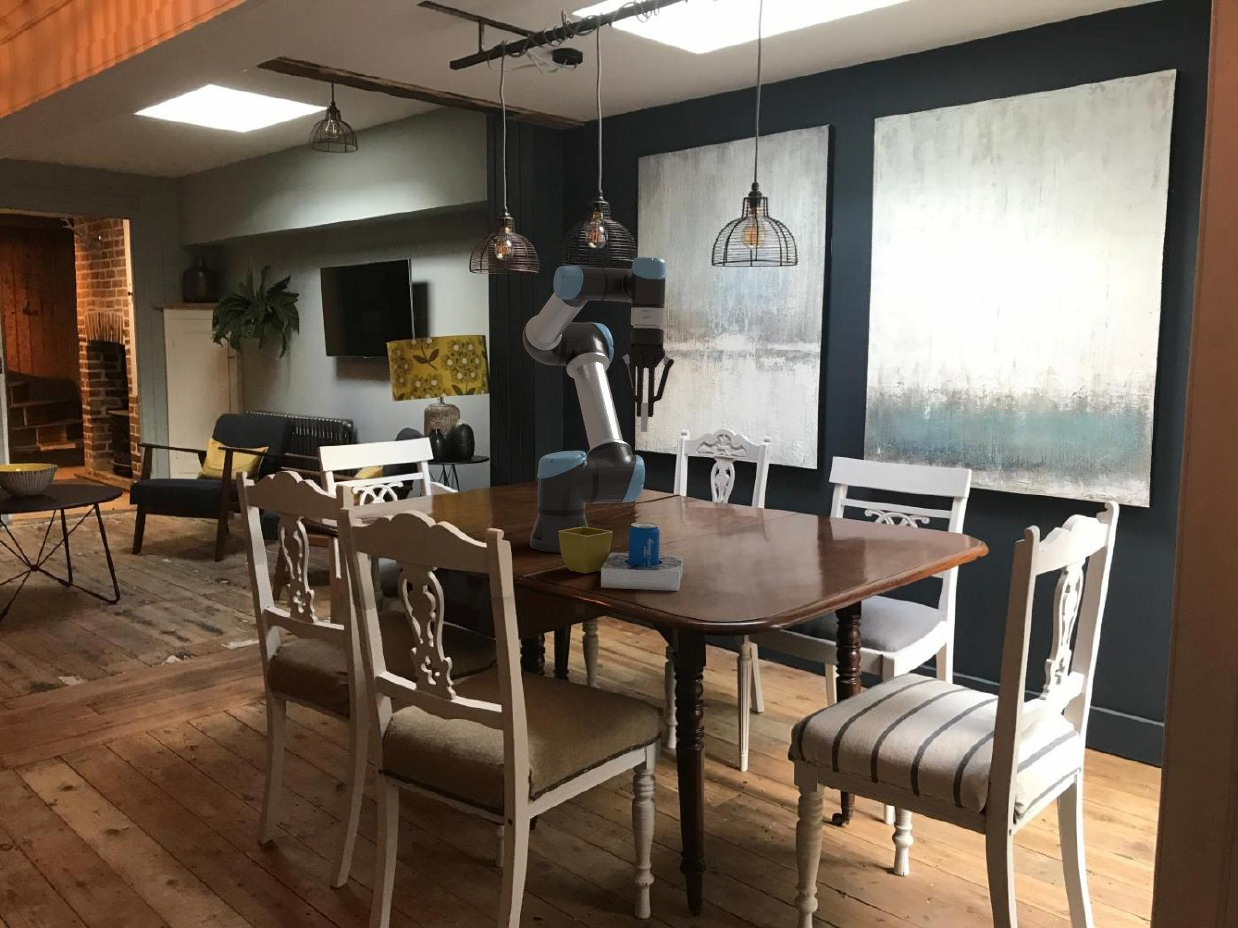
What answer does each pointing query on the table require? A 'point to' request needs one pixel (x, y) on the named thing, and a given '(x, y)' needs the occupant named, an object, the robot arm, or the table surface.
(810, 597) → the table surface
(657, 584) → the jig
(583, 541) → the flower pot
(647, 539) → the beverage can
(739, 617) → the table surface
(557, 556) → the table surface
